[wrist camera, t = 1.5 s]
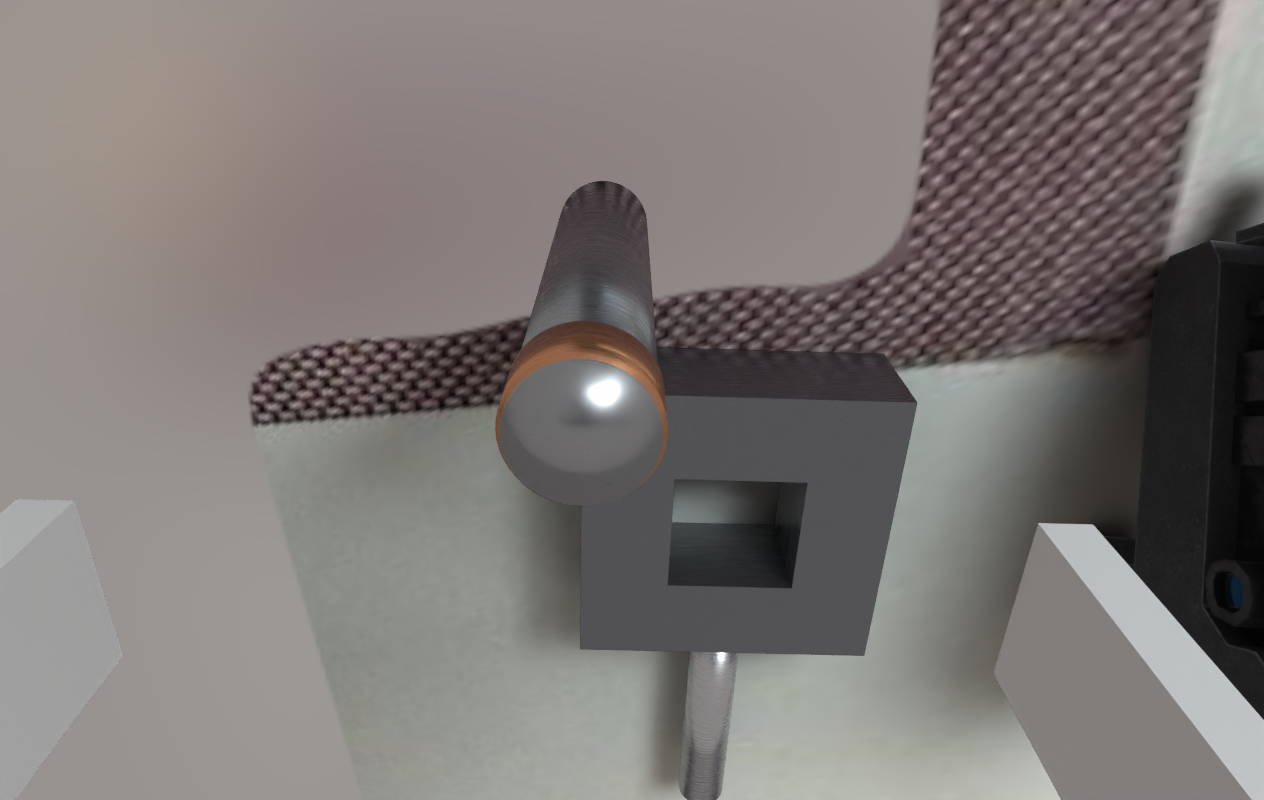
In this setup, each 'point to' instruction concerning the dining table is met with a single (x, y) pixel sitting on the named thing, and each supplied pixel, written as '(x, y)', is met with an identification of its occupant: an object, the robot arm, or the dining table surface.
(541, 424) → the grey metal rod
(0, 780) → the robot arm
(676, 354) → the grey holed block
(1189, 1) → the dining table surface
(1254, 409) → the toy gun
